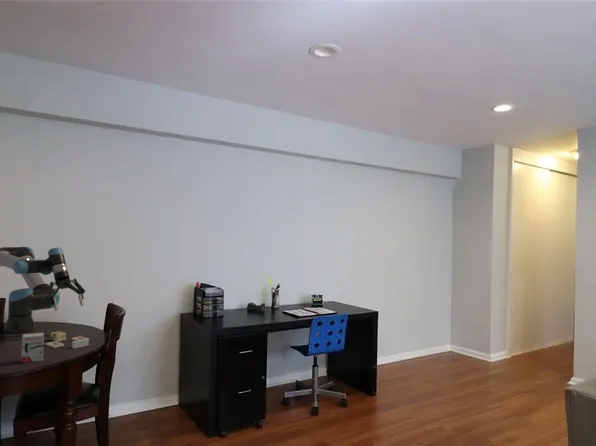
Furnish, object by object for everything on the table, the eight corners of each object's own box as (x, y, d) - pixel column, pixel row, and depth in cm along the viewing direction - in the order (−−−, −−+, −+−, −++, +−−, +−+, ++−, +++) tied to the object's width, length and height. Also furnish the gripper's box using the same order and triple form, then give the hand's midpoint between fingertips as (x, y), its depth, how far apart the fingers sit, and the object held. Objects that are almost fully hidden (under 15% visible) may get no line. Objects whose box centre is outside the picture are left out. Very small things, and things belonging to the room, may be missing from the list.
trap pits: (45, 345, 231) (45, 343, 231) (80, 338, 247) (80, 336, 247) (54, 347, 227) (54, 345, 227) (89, 340, 243) (89, 338, 243)
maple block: (50, 340, 241) (50, 332, 241) (59, 338, 245) (59, 331, 245) (56, 342, 238) (57, 334, 238) (65, 340, 242) (66, 332, 242)
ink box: (21, 363, 202) (22, 336, 202) (20, 360, 206) (22, 334, 206) (43, 360, 206) (44, 334, 206) (42, 357, 210) (43, 332, 210)
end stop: (71, 347, 228) (71, 341, 228) (86, 344, 235) (86, 338, 235) (73, 348, 227) (74, 342, 227) (88, 345, 234) (88, 339, 234)
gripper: (38, 273, 248) (47, 309, 242) (85, 267, 266) (94, 300, 260) (35, 279, 253) (43, 314, 247) (81, 273, 271) (90, 305, 265)
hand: (69, 307), depth 253 cm, fingers open, 13 cm apart
